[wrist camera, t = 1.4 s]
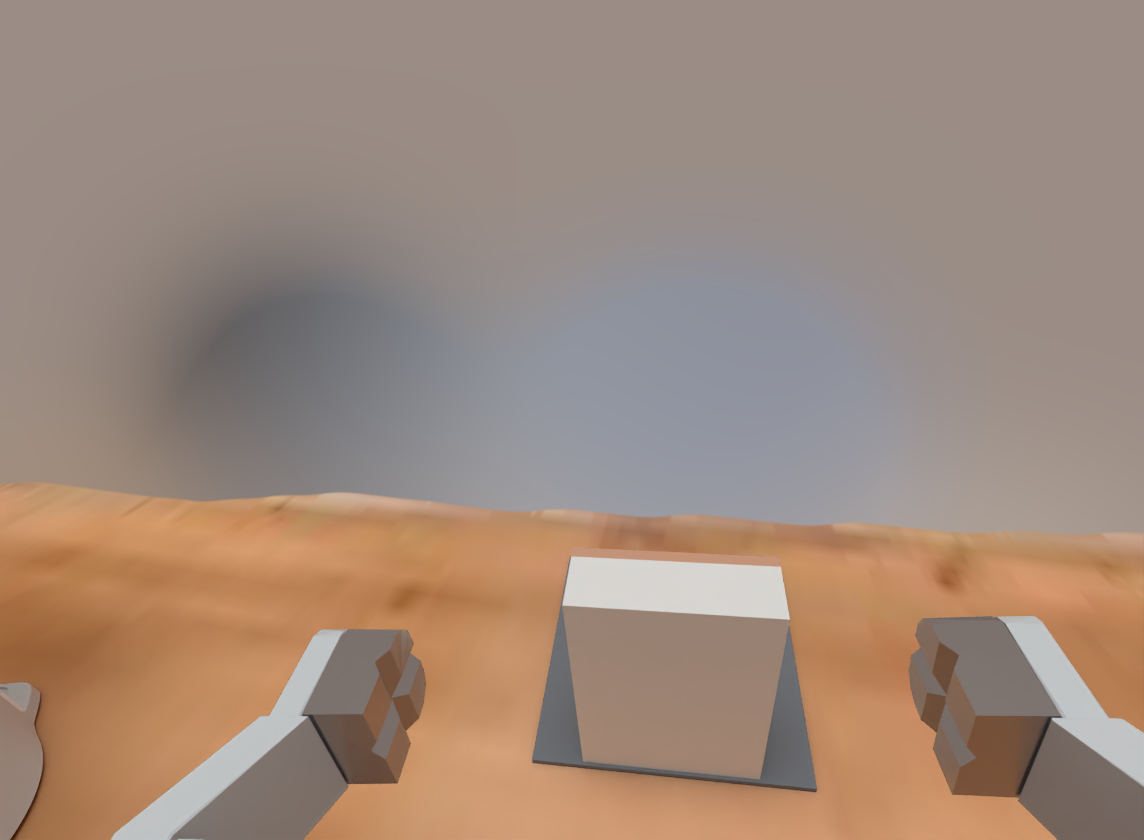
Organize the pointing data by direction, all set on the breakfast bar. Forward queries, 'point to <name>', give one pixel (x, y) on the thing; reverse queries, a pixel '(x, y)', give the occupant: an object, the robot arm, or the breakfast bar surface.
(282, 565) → the breakfast bar surface
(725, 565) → the white boxy piece
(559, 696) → the felt mat
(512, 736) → the breakfast bar surface
